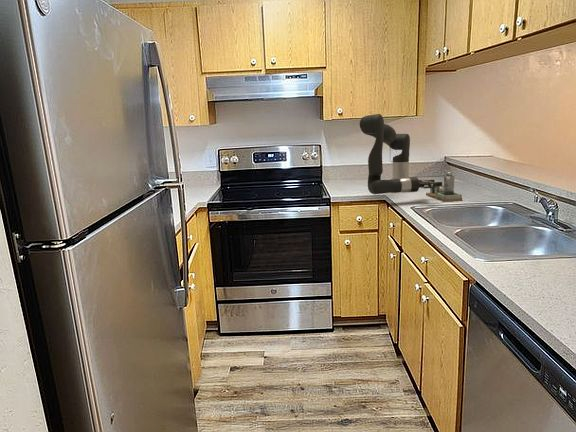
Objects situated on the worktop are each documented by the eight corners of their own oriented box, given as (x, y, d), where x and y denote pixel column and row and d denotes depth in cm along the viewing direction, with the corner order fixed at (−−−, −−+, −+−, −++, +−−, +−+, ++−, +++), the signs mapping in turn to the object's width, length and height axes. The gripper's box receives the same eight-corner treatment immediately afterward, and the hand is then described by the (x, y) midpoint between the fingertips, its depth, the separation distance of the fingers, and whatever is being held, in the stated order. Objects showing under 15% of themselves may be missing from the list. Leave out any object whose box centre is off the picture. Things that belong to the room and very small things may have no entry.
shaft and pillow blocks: (430, 192, 248) (430, 183, 247) (438, 191, 248) (438, 183, 247) (437, 195, 239) (437, 186, 238) (446, 194, 240) (446, 185, 239)
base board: (425, 195, 248) (425, 192, 247) (443, 193, 249) (443, 191, 248) (443, 201, 227) (443, 199, 227) (462, 200, 228) (462, 198, 228)
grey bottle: (441, 196, 234) (442, 172, 231) (450, 196, 235) (451, 171, 232) (446, 198, 229) (447, 173, 226) (455, 197, 230) (456, 172, 227)
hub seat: (436, 196, 236) (436, 193, 235) (452, 195, 237) (453, 191, 236) (444, 199, 227) (444, 195, 227) (461, 198, 228) (461, 194, 228)
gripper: (413, 179, 220) (445, 177, 222) (402, 175, 234) (432, 173, 236) (413, 194, 221) (444, 192, 223) (402, 190, 235) (431, 188, 237)
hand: (438, 182), depth 229 cm, fingers open, 8 cm apart
